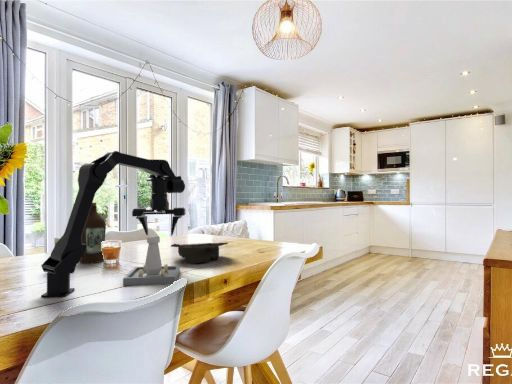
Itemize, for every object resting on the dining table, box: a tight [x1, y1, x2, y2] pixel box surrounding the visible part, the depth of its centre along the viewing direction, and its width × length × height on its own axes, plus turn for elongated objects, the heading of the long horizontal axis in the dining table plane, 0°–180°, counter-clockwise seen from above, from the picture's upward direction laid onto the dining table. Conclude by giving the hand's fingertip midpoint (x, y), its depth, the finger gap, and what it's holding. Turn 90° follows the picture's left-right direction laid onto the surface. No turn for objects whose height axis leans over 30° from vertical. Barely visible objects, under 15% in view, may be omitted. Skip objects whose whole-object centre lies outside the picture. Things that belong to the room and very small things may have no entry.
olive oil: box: [79, 202, 107, 265], centre depth 139 cm, size 11×11×25 cm
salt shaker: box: [144, 235, 163, 275], centre depth 112 cm, size 6×6×13 cm
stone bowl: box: [170, 242, 229, 265], centre depth 144 cm, size 25×25×9 cm
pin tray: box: [122, 263, 181, 286], centre depth 112 cm, size 16×16×4 cm
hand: (159, 234), depth 123 cm, fingers open, 9 cm apart
